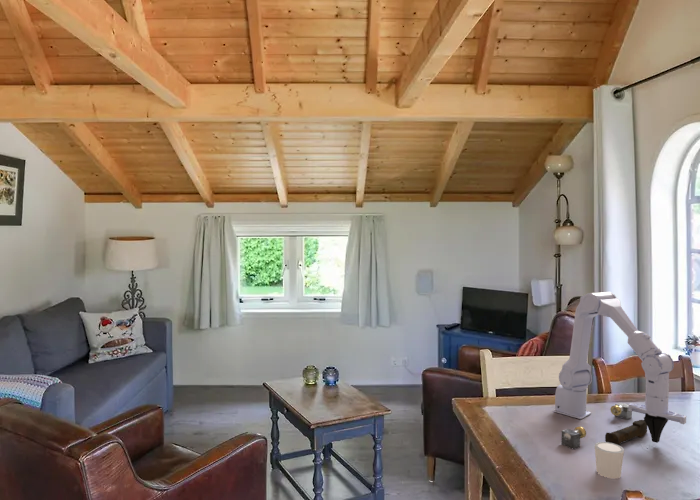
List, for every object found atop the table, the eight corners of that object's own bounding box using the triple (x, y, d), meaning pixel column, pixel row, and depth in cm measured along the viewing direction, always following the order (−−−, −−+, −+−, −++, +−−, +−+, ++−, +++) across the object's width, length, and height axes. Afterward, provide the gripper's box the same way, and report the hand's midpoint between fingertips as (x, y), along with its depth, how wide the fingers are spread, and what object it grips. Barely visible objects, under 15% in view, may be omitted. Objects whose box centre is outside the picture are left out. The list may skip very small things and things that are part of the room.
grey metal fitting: (574, 439, 154) (575, 424, 154) (587, 444, 151) (587, 428, 151) (560, 444, 151) (560, 429, 150) (572, 449, 147) (572, 433, 147)
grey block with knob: (620, 421, 169) (621, 407, 169) (609, 417, 172) (609, 404, 172) (632, 417, 172) (632, 403, 172) (620, 413, 176) (621, 400, 176)
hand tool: (616, 449, 148) (617, 433, 148) (604, 444, 152) (604, 428, 152) (655, 436, 157) (656, 421, 157) (642, 432, 161) (643, 417, 161)
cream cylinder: (588, 467, 136) (589, 441, 136) (613, 466, 137) (614, 441, 136) (603, 480, 129) (604, 453, 129) (629, 479, 130) (630, 452, 130)
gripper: (624, 392, 152) (623, 437, 152) (681, 404, 141) (680, 453, 142) (633, 387, 156) (632, 431, 157) (689, 398, 146) (687, 446, 146)
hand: (655, 441), depth 150 cm, fingers closed
